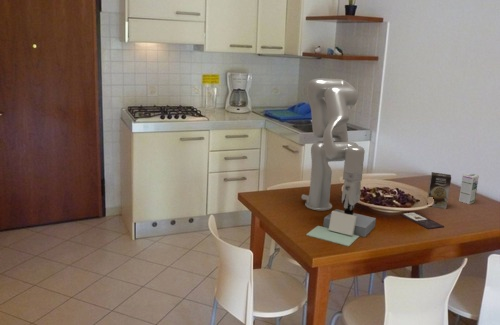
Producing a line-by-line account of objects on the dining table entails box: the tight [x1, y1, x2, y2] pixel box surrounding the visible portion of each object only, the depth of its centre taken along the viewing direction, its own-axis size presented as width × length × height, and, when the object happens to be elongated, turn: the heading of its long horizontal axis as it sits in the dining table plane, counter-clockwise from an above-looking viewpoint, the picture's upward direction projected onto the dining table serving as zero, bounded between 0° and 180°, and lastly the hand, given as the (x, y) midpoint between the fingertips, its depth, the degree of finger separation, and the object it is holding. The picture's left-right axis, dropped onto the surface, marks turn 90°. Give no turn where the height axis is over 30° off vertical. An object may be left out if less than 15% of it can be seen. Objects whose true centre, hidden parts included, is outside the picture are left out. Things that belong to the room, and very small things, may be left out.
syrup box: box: [458, 172, 480, 205], centre depth 246 cm, size 6×6×14 cm
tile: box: [329, 210, 357, 236], centre depth 197 cm, size 10×8×2 cm
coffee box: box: [427, 171, 452, 210], centre depth 237 cm, size 9×6×16 cm
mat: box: [305, 225, 360, 248], centre depth 195 cm, size 18×12×1 cm, turn 59°
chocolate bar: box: [400, 211, 445, 230], centre depth 217 cm, size 9×1×18 cm
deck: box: [322, 208, 377, 238], centre depth 205 cm, size 18×14×4 cm
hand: (348, 218), depth 202 cm, fingers closed
